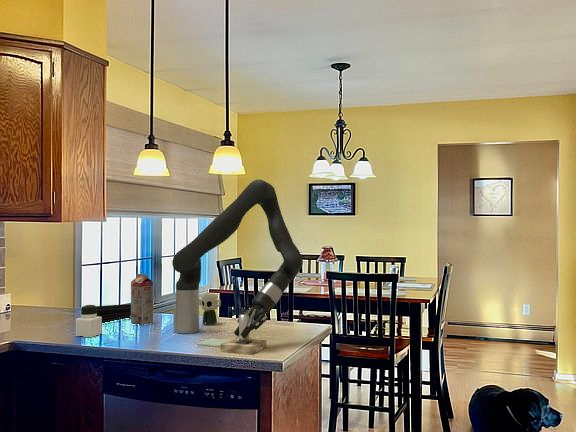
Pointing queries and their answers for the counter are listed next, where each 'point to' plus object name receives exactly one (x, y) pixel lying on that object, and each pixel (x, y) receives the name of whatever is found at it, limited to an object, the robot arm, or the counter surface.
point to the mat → (212, 342)
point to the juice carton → (141, 300)
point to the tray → (114, 312)
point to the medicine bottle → (88, 322)
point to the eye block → (243, 346)
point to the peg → (242, 324)
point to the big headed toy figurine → (209, 307)
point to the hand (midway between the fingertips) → (239, 335)
